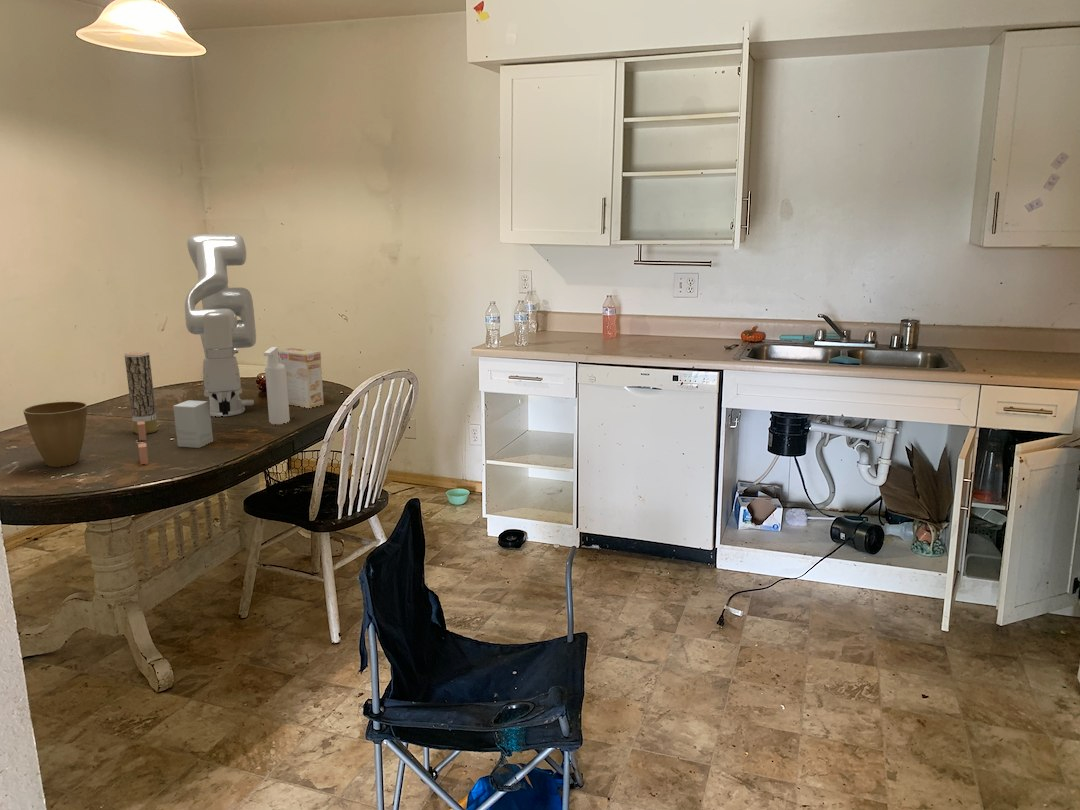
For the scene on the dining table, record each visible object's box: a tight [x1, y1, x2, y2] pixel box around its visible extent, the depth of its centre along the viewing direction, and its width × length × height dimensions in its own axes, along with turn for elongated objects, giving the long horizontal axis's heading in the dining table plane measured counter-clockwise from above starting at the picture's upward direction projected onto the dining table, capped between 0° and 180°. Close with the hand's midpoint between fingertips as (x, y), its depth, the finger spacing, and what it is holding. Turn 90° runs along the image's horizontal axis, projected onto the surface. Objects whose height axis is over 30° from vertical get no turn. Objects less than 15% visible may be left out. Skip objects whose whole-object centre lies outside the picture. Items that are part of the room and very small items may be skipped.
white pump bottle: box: [263, 346, 291, 425], centre depth 263 cm, size 7×12×25 cm, turn 175°
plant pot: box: [22, 401, 88, 468], centre depth 220 cm, size 15×15×16 cm
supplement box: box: [172, 399, 214, 449], centre depth 238 cm, size 7×7×13 cm
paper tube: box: [124, 351, 159, 435], centre depth 250 cm, size 7×7×25 cm
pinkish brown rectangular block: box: [137, 421, 149, 466], centre depth 233 cm, size 2×30×5 cm, turn 27°
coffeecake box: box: [277, 347, 325, 409], centre depth 286 cm, size 15×7×20 cm, turn 58°
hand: (225, 414), depth 241 cm, fingers closed
